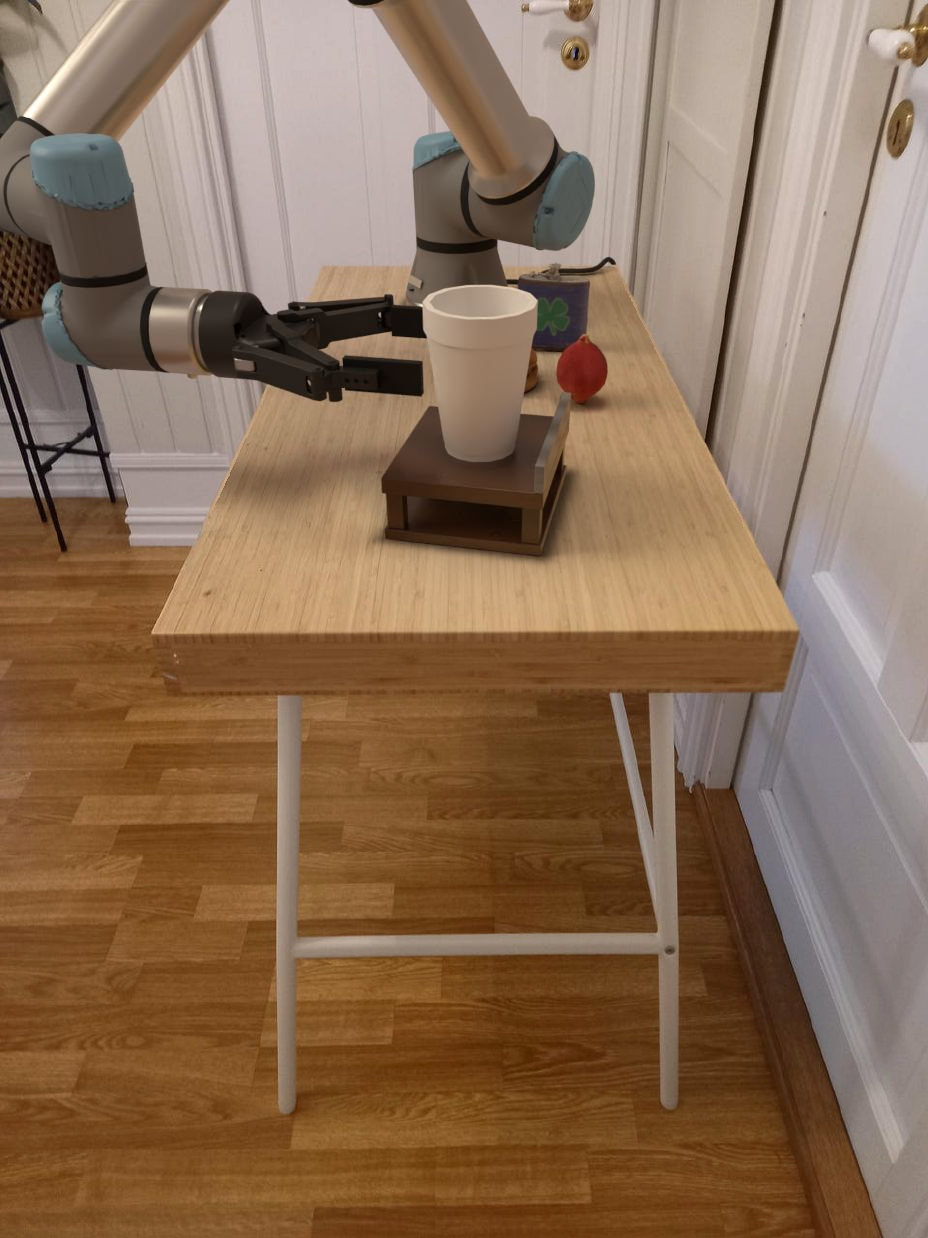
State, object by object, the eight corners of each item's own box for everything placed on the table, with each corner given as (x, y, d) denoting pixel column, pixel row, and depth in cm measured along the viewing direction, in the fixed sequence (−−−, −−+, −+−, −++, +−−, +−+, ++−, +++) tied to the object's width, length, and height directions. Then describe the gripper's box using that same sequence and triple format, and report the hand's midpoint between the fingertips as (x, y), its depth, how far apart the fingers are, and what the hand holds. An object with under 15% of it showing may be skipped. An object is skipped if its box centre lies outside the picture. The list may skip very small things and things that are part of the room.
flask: (586, 346, 123) (592, 261, 117) (584, 353, 121) (589, 268, 115) (517, 341, 125) (519, 258, 119) (513, 349, 123) (515, 264, 116)
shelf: (430, 460, 96) (427, 381, 91) (566, 473, 93) (571, 392, 88) (384, 538, 83) (378, 450, 78) (540, 556, 80) (544, 466, 75)
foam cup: (521, 474, 80) (526, 322, 72) (417, 465, 81) (410, 315, 74) (538, 429, 87) (544, 287, 80) (442, 421, 89) (439, 281, 81)
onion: (548, 394, 110) (551, 327, 105) (595, 390, 111) (600, 323, 106) (563, 414, 105) (567, 344, 100) (611, 409, 106) (617, 340, 101)
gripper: (272, 330, 96) (473, 344, 92) (155, 428, 76) (405, 451, 73) (262, 254, 92) (473, 266, 88) (136, 338, 72) (400, 357, 68)
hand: (442, 350), depth 80 cm, fingers open, 13 cm apart
